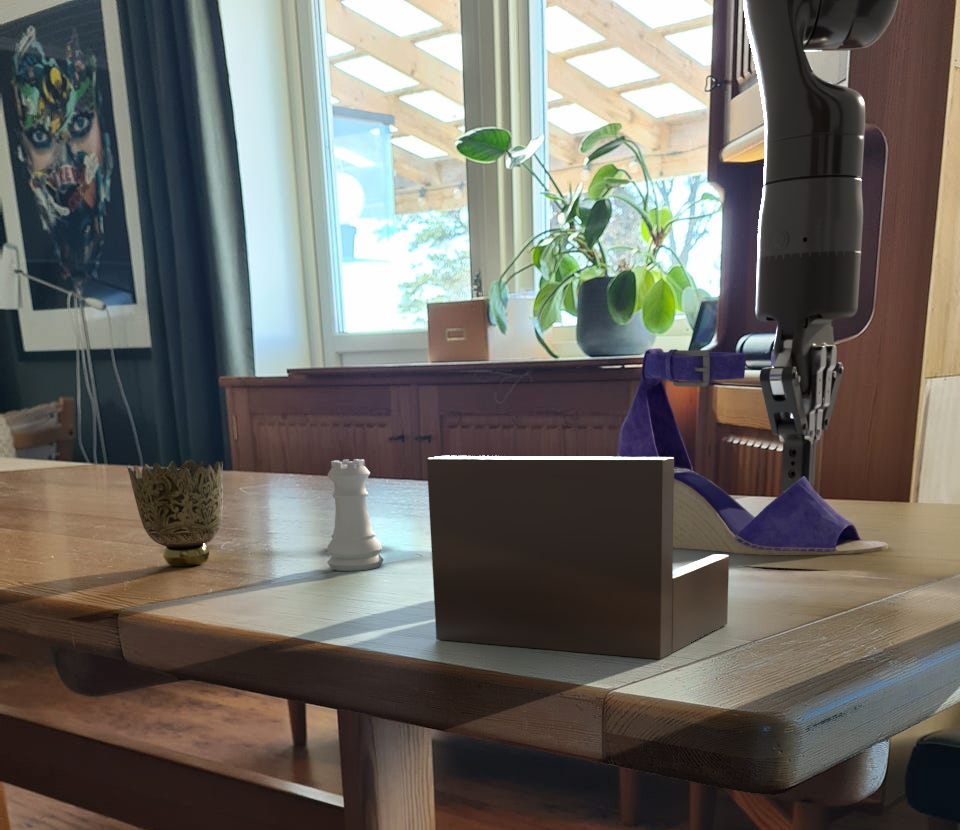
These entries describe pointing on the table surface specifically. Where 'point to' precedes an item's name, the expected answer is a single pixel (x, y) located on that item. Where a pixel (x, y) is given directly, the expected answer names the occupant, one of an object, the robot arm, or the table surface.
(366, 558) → the rook chess piece
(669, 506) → the brown stepped block
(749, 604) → the table surface
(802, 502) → the sandal
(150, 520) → the cup
